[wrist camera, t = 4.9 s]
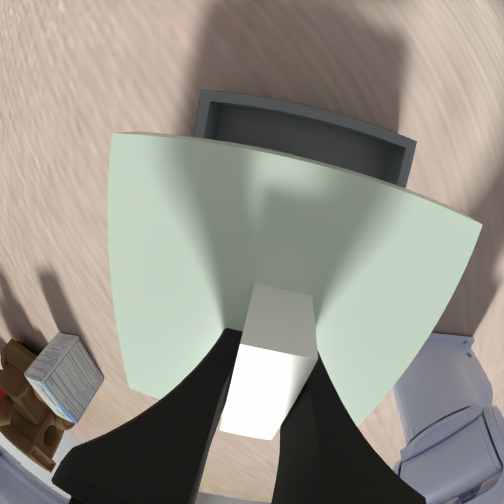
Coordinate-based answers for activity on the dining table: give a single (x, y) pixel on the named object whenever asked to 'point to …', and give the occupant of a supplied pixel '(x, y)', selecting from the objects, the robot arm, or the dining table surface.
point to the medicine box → (65, 376)
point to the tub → (306, 134)
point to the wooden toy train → (27, 409)
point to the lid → (272, 272)
